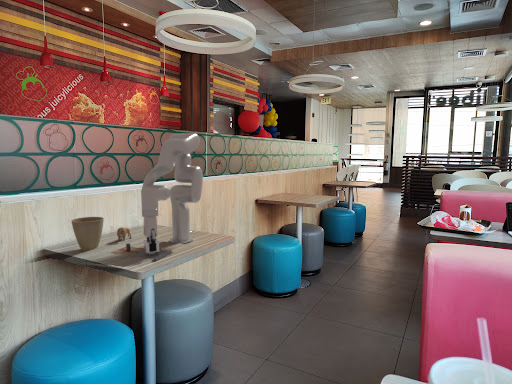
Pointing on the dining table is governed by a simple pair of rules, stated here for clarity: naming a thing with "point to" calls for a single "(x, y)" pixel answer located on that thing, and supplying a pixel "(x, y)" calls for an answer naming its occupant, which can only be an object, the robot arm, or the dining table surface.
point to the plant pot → (88, 231)
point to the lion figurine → (123, 233)
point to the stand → (128, 250)
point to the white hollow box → (146, 246)
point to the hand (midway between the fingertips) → (151, 249)
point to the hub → (153, 255)
